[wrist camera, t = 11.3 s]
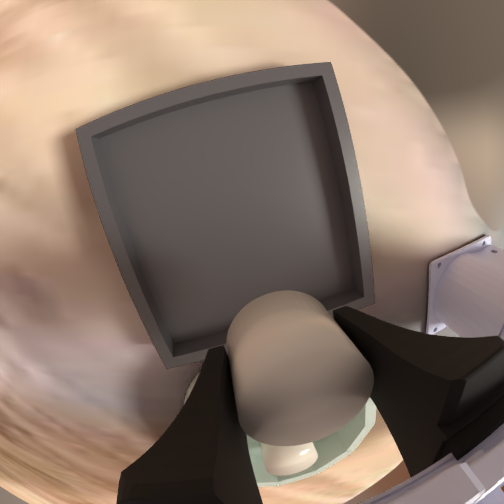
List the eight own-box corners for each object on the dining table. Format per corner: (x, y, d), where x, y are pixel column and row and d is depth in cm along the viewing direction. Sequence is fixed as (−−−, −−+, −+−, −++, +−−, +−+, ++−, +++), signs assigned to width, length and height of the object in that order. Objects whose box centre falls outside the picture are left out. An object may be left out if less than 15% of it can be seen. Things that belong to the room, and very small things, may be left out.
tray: (315, 72, 16) (330, 61, 14) (358, 288, 21) (375, 302, 19) (91, 132, 15) (75, 129, 13) (169, 347, 20) (166, 369, 18)
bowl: (348, 308, 21) (377, 339, 17) (355, 423, 26) (372, 451, 22) (153, 367, 20) (145, 408, 16) (218, 465, 25) (222, 497, 21)
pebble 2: (301, 409, 23) (315, 442, 19) (307, 435, 24) (319, 465, 20) (252, 424, 22) (260, 459, 19) (263, 448, 24) (271, 479, 20)
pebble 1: (323, 275, 11) (373, 326, 8) (334, 359, 13) (372, 417, 9) (211, 309, 11) (217, 378, 7) (242, 389, 12) (257, 458, 9)
